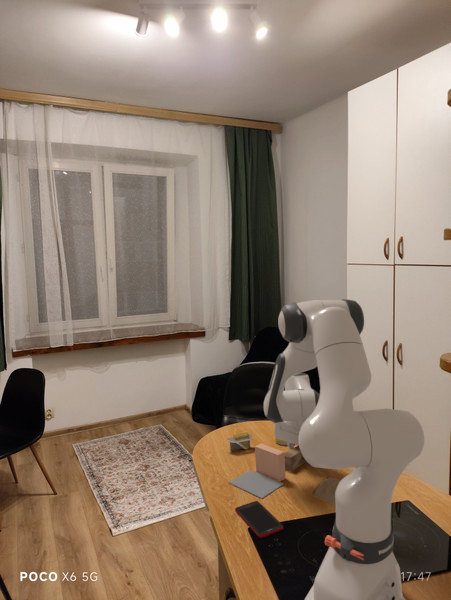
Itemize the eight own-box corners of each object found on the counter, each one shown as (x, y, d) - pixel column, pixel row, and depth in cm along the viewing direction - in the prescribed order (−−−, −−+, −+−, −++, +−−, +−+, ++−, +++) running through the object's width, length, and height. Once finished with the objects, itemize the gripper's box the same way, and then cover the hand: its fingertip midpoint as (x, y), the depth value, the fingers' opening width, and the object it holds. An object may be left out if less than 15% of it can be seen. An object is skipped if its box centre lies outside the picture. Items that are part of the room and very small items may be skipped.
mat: (261, 498, 128) (261, 497, 128) (229, 483, 138) (229, 482, 138) (283, 484, 135) (283, 483, 135) (250, 470, 145) (250, 469, 145)
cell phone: (257, 503, 126) (257, 500, 126) (285, 530, 113) (285, 526, 113) (234, 511, 123) (233, 508, 123) (260, 540, 110) (259, 536, 110)
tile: (279, 482, 137) (278, 455, 136) (256, 472, 144) (255, 446, 143) (285, 478, 139) (284, 451, 138) (262, 468, 146) (260, 443, 145)
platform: (269, 453, 158) (268, 436, 157) (223, 462, 153) (222, 445, 152) (257, 440, 169) (256, 424, 169) (213, 448, 164) (212, 432, 163)
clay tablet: (341, 511, 120) (341, 502, 120) (310, 499, 127) (310, 490, 127) (363, 488, 131) (363, 480, 131) (333, 478, 138) (333, 470, 138)
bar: (290, 472, 143) (290, 457, 142) (282, 468, 145) (281, 454, 145) (317, 455, 154) (317, 441, 153) (309, 452, 156) (309, 439, 156)
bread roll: (274, 445, 163) (274, 435, 163) (277, 436, 172) (276, 426, 171) (296, 447, 161) (295, 436, 161) (297, 437, 170) (297, 427, 169)
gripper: (269, 414, 153) (271, 451, 155) (318, 428, 139) (319, 468, 140) (280, 409, 158) (282, 445, 159) (329, 422, 143) (330, 461, 144)
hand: (300, 456), depth 149 cm, fingers open, 5 cm apart
